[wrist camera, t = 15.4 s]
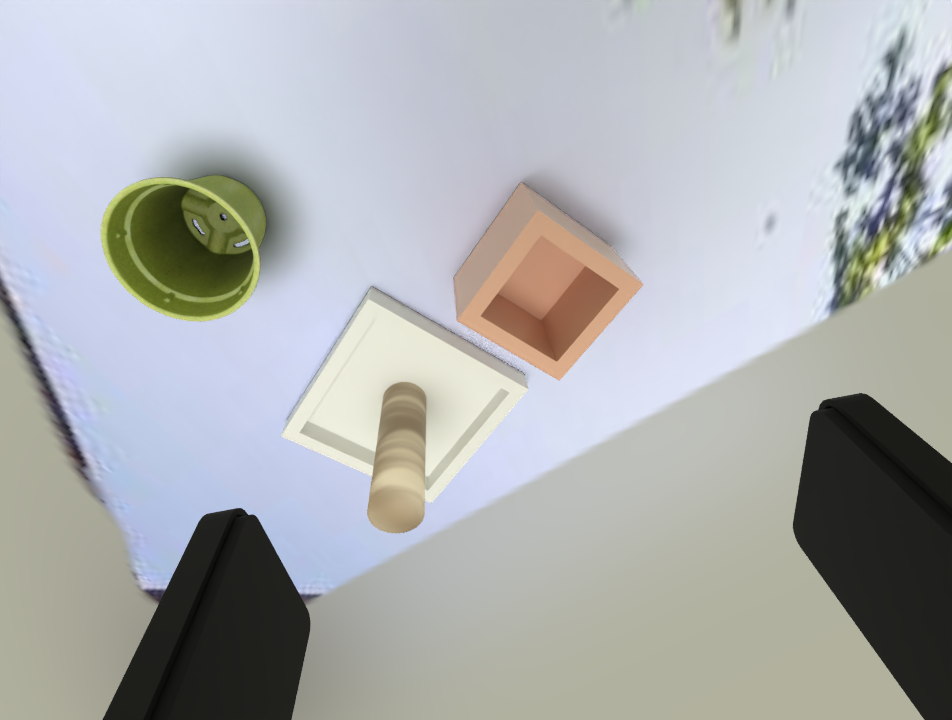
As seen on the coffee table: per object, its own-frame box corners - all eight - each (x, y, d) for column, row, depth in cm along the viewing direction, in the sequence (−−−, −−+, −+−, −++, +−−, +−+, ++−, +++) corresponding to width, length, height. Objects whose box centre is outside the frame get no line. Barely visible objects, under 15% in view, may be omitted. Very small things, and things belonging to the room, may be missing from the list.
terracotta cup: (521, 181, 42) (537, 209, 35) (611, 246, 45) (643, 284, 38) (453, 278, 46) (456, 320, 39) (541, 332, 49) (559, 380, 42)
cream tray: (371, 286, 46) (368, 299, 43) (524, 373, 51) (528, 389, 49) (287, 418, 52) (281, 436, 50) (431, 484, 57) (431, 503, 55)
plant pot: (312, 246, 44) (287, 289, 36) (212, 291, 45) (167, 342, 38) (242, 129, 39) (197, 151, 32) (132, 184, 41) (64, 217, 33)
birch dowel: (397, 374, 49) (385, 484, 37) (434, 394, 51) (435, 506, 39) (374, 405, 51) (356, 520, 39) (411, 424, 52) (405, 540, 40)
